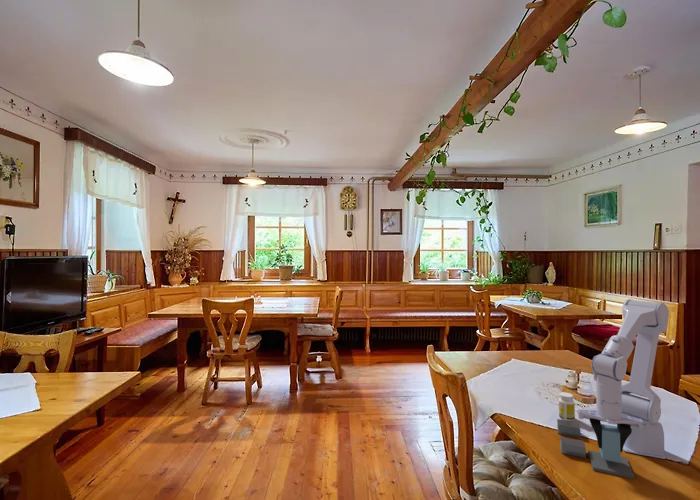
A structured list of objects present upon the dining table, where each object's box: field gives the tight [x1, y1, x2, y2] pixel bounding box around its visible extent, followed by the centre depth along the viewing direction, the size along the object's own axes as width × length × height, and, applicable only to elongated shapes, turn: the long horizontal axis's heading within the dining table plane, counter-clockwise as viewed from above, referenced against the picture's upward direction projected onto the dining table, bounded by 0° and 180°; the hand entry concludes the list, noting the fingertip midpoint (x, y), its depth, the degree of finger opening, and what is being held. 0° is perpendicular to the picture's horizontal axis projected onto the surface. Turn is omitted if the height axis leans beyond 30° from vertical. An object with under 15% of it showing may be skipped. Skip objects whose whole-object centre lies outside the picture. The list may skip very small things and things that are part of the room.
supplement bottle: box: [558, 391, 576, 422], centre depth 126 cm, size 5×5×8 cm
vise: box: [556, 418, 587, 459], centre depth 112 cm, size 6×19×3 cm, turn 154°
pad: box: [587, 449, 635, 480], centre depth 99 cm, size 9×9×1 cm
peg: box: [599, 423, 621, 463], centre depth 99 cm, size 4×4×8 cm
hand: (609, 448), depth 99 cm, fingers closed on peg, 4 cm apart
